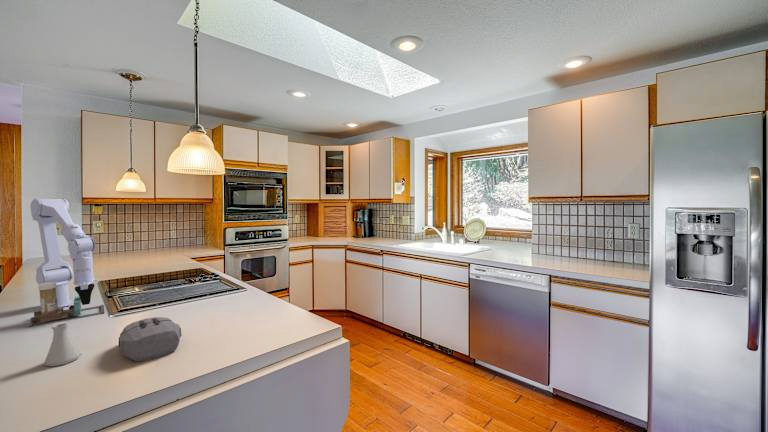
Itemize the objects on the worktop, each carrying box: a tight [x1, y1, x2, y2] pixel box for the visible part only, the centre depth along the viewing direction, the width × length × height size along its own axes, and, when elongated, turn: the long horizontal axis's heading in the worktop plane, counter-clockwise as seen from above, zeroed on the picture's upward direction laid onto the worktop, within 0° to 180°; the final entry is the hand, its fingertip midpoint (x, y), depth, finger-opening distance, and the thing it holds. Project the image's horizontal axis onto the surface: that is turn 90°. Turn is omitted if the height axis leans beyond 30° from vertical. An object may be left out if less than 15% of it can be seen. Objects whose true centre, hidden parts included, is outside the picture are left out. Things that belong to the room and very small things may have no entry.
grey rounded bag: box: [118, 316, 182, 362], centre depth 101 cm, size 15×8×20 cm
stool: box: [30, 295, 82, 324], centre depth 125 cm, size 11×13×5 cm
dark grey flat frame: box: [29, 304, 105, 328], centre depth 128 cm, size 11×20×1 cm, turn 130°
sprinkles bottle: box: [37, 282, 58, 322], centre depth 124 cm, size 5×5×13 cm
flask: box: [43, 322, 82, 367], centre depth 93 cm, size 7×7×10 cm
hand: (86, 304), depth 131 cm, fingers closed, pressing on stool
